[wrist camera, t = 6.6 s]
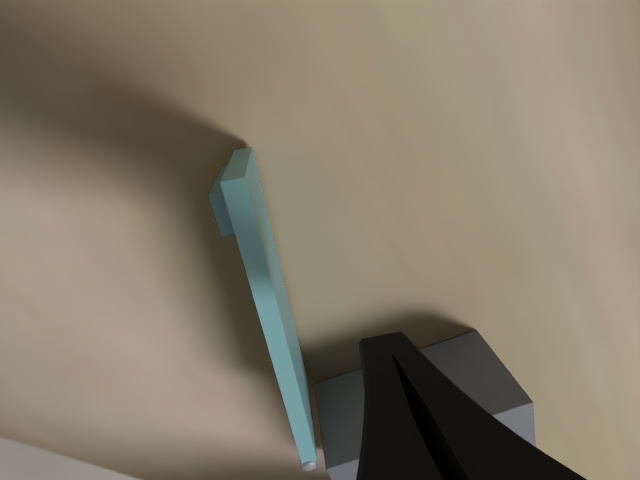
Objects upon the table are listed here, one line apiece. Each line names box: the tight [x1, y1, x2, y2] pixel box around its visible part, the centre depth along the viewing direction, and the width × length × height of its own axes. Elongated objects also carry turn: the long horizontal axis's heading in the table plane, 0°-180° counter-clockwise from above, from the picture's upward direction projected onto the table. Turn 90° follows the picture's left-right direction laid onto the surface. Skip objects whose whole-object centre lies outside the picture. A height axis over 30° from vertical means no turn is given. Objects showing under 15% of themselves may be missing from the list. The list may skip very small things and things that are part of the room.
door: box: [208, 147, 317, 471], centre depth 17 cm, size 1×16×5 cm, turn 9°
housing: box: [314, 330, 536, 480], centre depth 22 cm, size 8×11×6 cm
